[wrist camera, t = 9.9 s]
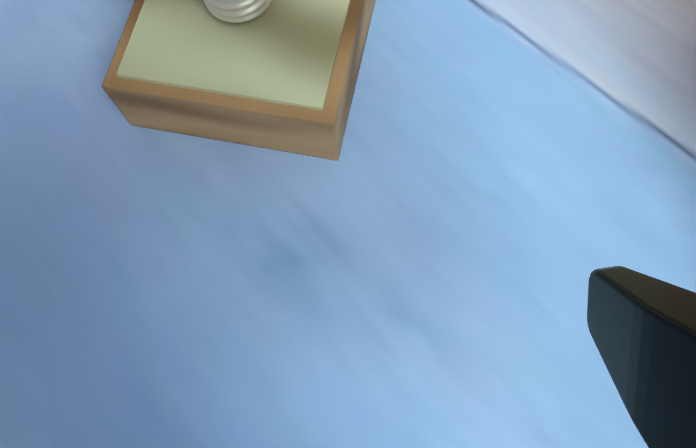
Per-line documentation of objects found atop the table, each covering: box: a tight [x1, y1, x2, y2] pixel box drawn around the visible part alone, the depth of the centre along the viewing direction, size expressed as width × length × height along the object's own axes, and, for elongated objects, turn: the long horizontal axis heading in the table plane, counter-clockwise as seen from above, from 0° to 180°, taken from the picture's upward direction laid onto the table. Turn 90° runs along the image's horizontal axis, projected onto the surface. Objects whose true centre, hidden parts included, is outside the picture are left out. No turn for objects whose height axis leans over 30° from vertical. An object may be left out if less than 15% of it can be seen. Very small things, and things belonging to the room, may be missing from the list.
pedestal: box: [102, 0, 375, 160], centre depth 25 cm, size 9×9×3 cm
